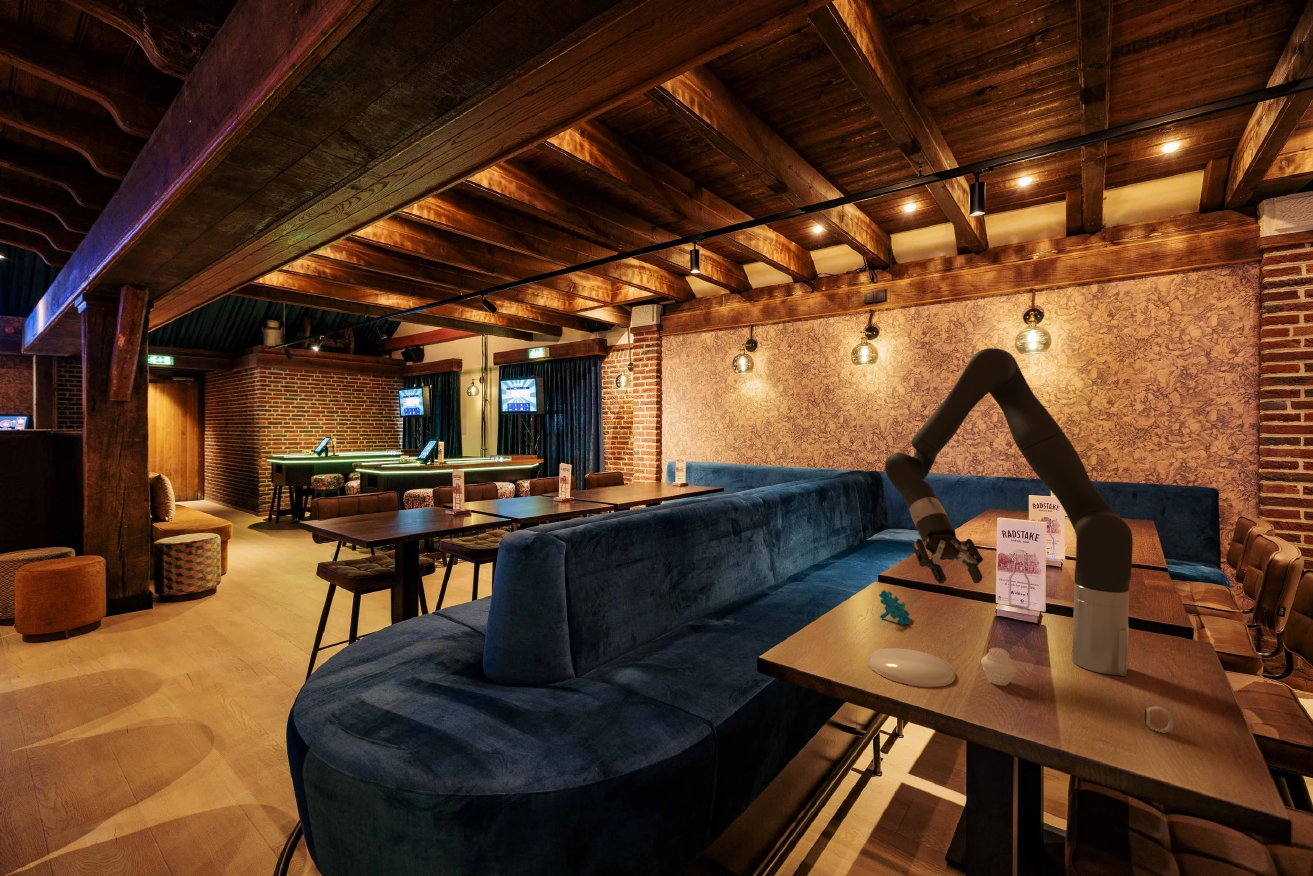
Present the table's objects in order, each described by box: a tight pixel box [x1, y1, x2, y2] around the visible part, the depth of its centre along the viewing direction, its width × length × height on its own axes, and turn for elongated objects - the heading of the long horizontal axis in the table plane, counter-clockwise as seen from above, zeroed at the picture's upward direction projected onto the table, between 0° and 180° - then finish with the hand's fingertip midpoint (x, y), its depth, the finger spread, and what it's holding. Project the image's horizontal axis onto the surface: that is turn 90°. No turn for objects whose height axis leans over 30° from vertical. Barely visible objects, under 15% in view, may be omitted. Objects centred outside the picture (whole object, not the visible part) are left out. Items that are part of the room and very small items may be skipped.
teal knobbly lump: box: [878, 589, 912, 626], centre depth 150 cm, size 11×6×10 cm
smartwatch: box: [1144, 705, 1175, 734], centre depth 96 cm, size 4×2×4 cm, turn 54°
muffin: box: [980, 647, 1018, 687], centre depth 114 cm, size 6×6×7 cm
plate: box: [867, 647, 956, 688], centre depth 119 cm, size 17×17×1 cm
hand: (961, 581), depth 125 cm, fingers open, 8 cm apart
